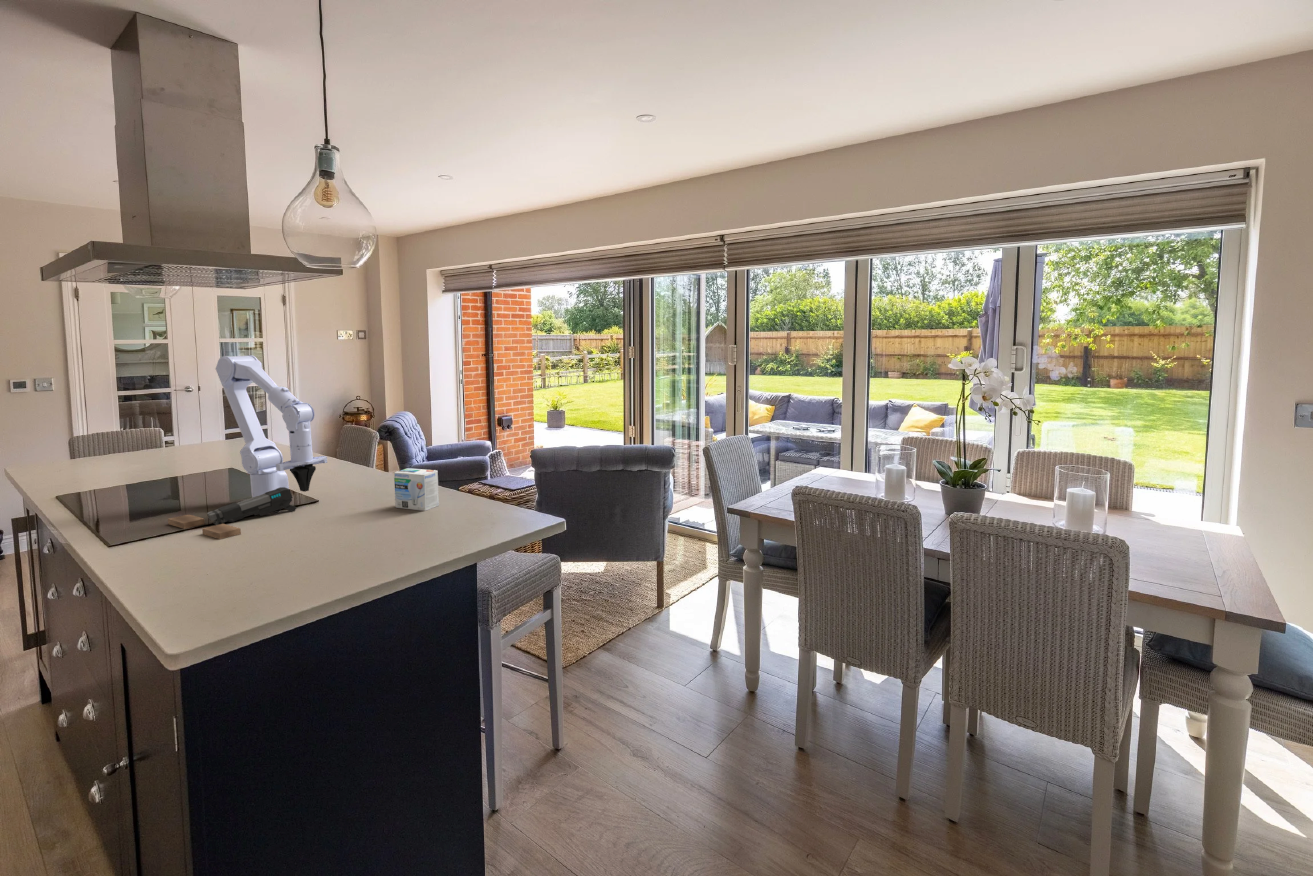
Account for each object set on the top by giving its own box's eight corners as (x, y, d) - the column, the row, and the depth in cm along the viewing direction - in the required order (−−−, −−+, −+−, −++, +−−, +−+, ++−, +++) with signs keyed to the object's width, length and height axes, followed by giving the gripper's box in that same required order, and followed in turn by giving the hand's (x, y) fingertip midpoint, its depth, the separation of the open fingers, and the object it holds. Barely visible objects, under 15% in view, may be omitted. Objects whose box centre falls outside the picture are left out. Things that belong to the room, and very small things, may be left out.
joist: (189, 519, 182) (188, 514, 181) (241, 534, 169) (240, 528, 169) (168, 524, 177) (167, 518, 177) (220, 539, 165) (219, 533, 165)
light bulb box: (394, 508, 195) (392, 472, 194) (409, 502, 202) (407, 467, 200) (426, 511, 192) (424, 474, 190) (440, 505, 199) (438, 469, 197)
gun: (300, 510, 191) (285, 480, 187) (227, 547, 179) (209, 516, 175) (295, 507, 194) (279, 477, 190) (223, 544, 182) (205, 512, 178)
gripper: (284, 450, 186) (288, 497, 188) (332, 443, 199) (335, 487, 201) (270, 447, 190) (274, 494, 192) (317, 440, 202) (320, 484, 204)
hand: (304, 490), depth 197 cm, fingers closed
